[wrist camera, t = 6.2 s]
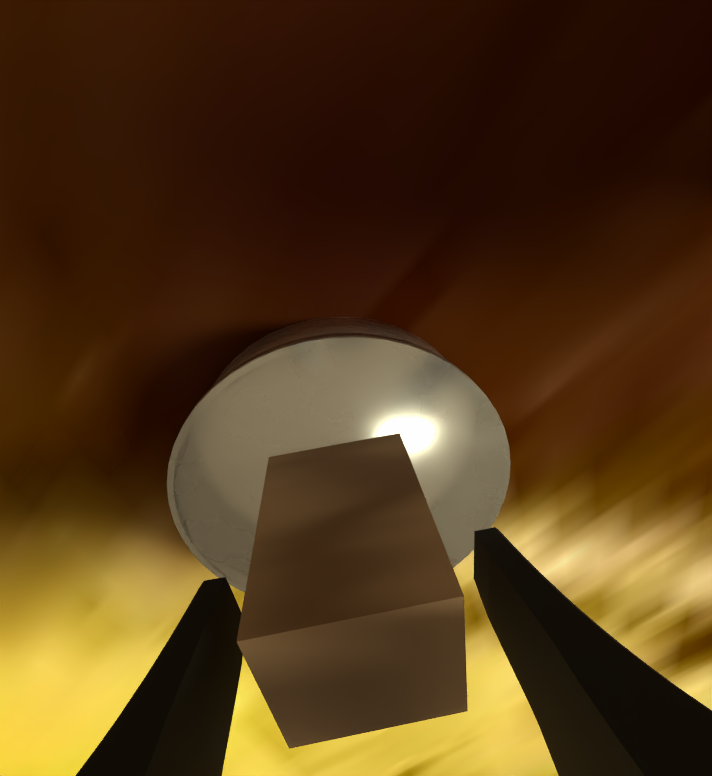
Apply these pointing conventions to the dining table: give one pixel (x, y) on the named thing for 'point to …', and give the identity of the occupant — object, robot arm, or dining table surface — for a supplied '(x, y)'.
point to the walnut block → (351, 596)
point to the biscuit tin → (334, 432)
